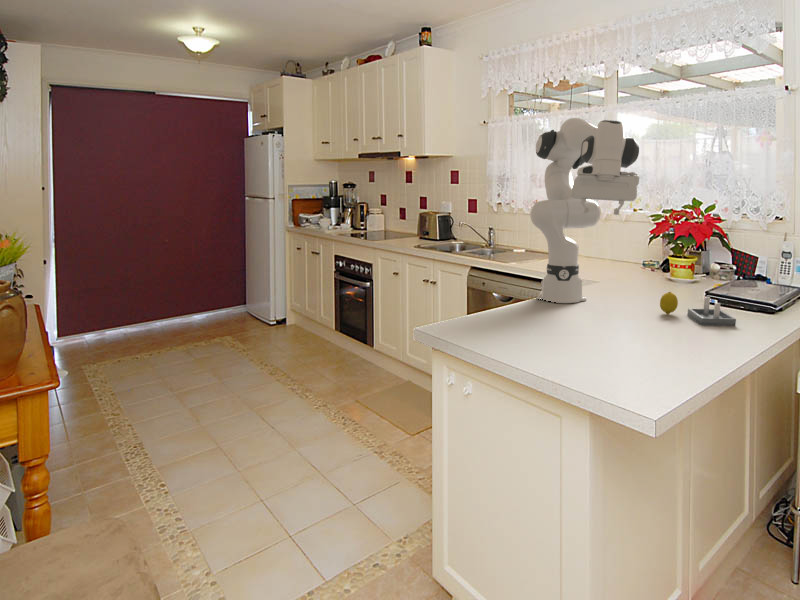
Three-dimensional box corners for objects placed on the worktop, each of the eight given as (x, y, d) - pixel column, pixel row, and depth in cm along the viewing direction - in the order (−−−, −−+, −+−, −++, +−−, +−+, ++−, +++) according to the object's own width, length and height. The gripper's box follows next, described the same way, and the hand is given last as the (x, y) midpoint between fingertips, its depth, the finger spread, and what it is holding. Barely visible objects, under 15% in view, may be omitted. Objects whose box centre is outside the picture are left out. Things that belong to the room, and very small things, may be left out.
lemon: (660, 315, 190) (662, 293, 188) (657, 312, 195) (659, 290, 193) (678, 316, 188) (680, 293, 187) (674, 312, 194) (676, 290, 192)
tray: (687, 315, 189) (689, 295, 188) (719, 316, 188) (721, 296, 186) (700, 325, 176) (702, 304, 175) (735, 326, 174) (737, 305, 173)
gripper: (638, 173, 180) (633, 216, 181) (573, 171, 185) (568, 212, 186) (641, 171, 174) (636, 215, 175) (574, 168, 179) (569, 211, 180)
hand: (600, 213), depth 181 cm, fingers open, 8 cm apart
